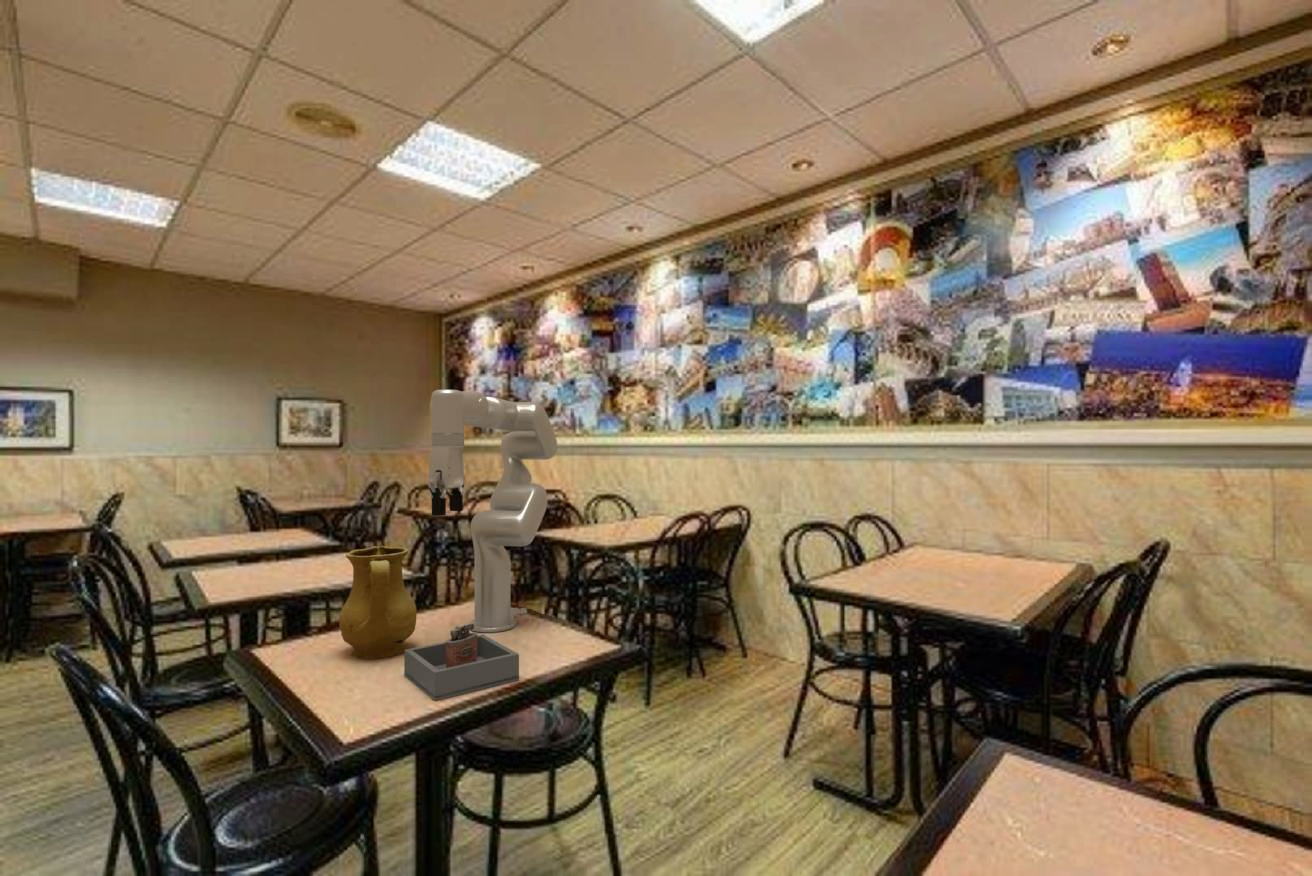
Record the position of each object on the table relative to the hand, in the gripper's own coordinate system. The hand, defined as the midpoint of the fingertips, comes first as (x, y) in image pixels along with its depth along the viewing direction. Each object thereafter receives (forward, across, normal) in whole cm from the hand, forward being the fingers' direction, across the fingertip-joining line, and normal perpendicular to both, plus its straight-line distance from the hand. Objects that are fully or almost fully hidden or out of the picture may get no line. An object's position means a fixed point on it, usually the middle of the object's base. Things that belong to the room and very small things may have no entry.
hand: (447, 513), depth 157 cm
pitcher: (+34, +1, -17) cm, 38 cm away
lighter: (+32, +15, +10) cm, 37 cm away
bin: (+33, +16, +10) cm, 38 cm away
